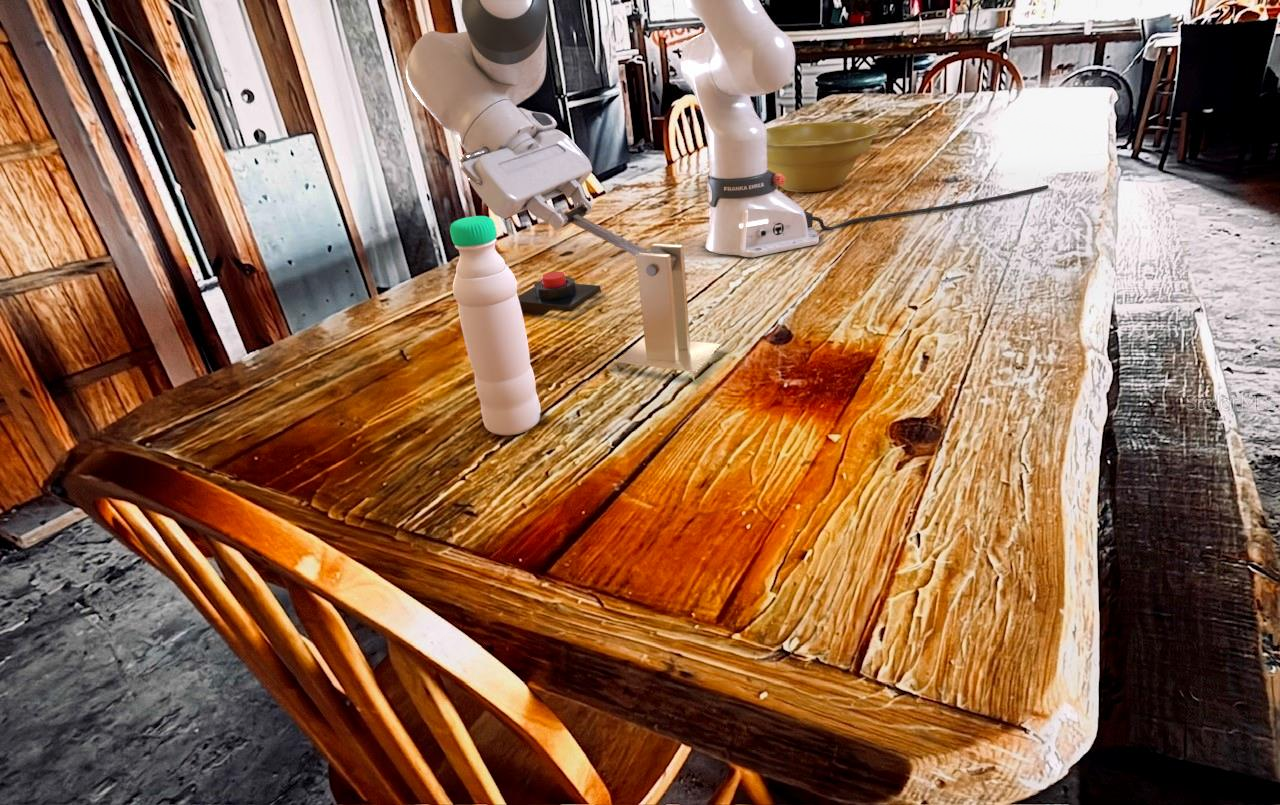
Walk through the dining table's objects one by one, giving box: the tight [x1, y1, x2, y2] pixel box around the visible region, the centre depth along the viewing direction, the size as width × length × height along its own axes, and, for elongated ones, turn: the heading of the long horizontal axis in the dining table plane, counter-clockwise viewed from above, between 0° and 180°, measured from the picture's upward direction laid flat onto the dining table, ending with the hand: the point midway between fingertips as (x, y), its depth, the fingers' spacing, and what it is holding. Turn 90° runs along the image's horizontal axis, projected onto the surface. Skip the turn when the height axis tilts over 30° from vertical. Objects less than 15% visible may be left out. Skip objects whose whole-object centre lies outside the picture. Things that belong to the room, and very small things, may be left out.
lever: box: [563, 207, 676, 269], centre depth 92 cm, size 16×5×2 cm, turn 64°
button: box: [541, 271, 566, 288], centre depth 120 cm, size 4×4×2 cm
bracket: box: [615, 243, 722, 373], centre depth 94 cm, size 12×9×16 cm
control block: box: [518, 276, 602, 316], centre depth 121 cm, size 12×10×4 cm
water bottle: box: [449, 215, 542, 436], centre depth 80 cm, size 7×7×25 cm
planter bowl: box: [766, 121, 880, 193], centre depth 179 cm, size 32×32×13 cm
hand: (576, 218), depth 94 cm, fingers closed on lever, 5 cm apart
